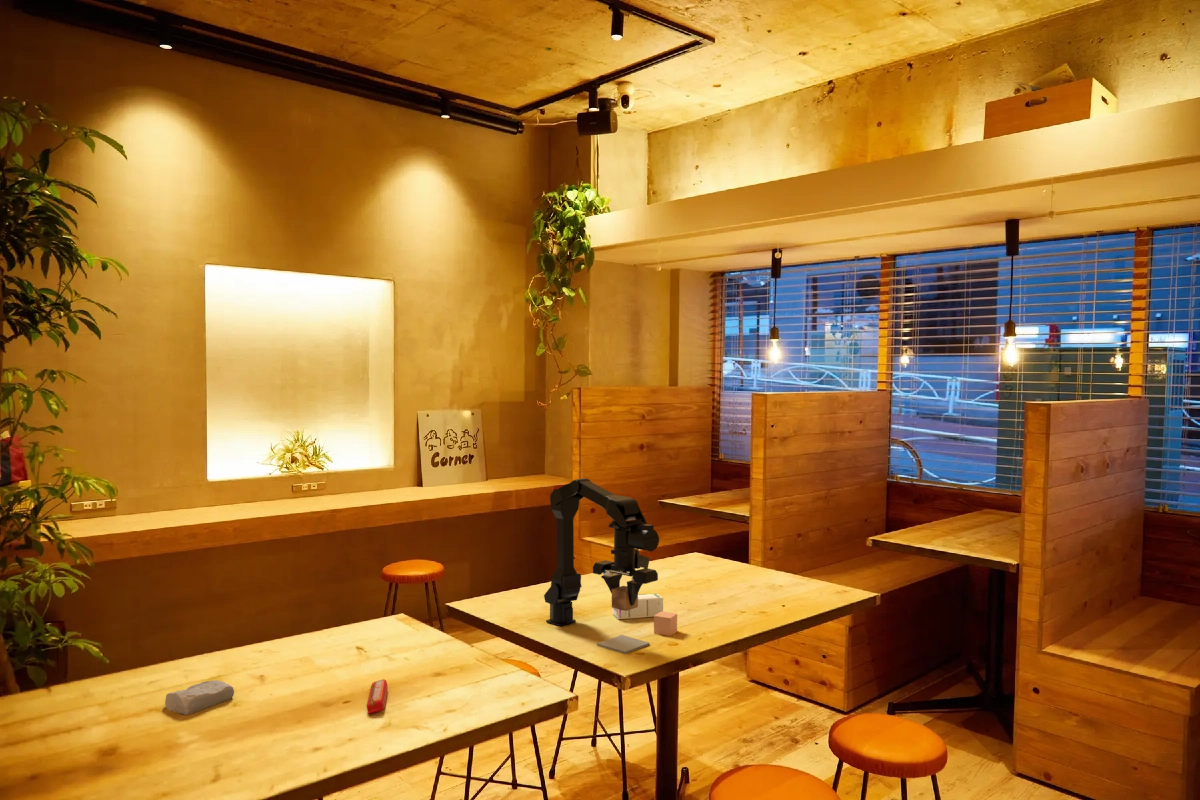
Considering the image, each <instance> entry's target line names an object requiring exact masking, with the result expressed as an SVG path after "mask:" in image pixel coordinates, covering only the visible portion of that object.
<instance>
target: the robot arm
mask: <svg viewBox="0 0 1200 800" xmlns="http://www.w3.org/2000/svg"><path fill="white" fill-rule="evenodd" d="M584 498H585V499H587V500H589V502H592V503H594V504H596V505H598V506H599V507H600V508H603V509H604V511H605V513H606V515H607V516H608V517H609V518H611V519H612V521H611V522H610V523H608V528H612V529H613V549H610V555H613V561H611V560H601V561H597V562H594V564H593V566H592V574H595V575H599V576H600V575H601V576H600V577H601V579H603V581H604V582H605V583H606V585H607V587H608V590H609V592H610V593H611V595H612V589H614V588H617V587H621V586H620V585H621V584H620V583H621V579H622V577H623V576H627V577H631V580H628V581H626V586H627V588H628V595H629V601H630V605H631V606H633V605H634V604H635V601H636V598H637V595H639V592H640V589H641V588H642V586H643V585H645V584H650V583H653V582H657V581H658V580H659V576H658V575H659V574H658V573H659V572H658V571H657V570H656V569H653V568H649V565H650V564H649V563H650V559H651V557H648V556H646V555H642V554H640V551H639V550H641V551H645V552H654V551H655V550H656V549H657V548H658V546H659V544H660V536H659V534H658V532H657V530H655V529H654V525H653V524H647V521H646V519H645V516H644V514H643V512H642V510H641V508H640V506H639V504H638V503H639V502H638V501H637V500H636V499H635V498H632V497H629V496H624V495H617V494H614V493H612V492H611V491H609V490H607V489H605V488H604V487H601V486H600V485H598V484H596V483H594V482H593V481H591V480H590V479H589V478H585V477H583V478H576V479H574V480H572V481H571V482H569V483H567V484H565V485H563V486H561V487H559V488H554V489H553V490H552V492H550V496H549V503H550V510H551V512H552V513H553V516H554V517H555V518H556V520H555V521H556V568H555V570H554V572H553V574H552V576H551V582H550V587H549V588H548V589H547V590H546V591H545V592H544V594H543V598H544V602H545V603H547V604H549V618H548V619H546V620H545V622H546V623H547V624H552V625H556V626H559V627H564V626H566V625H570V624H574V623H576V622H577V620H576V619H574V608H573V602H575V601H578V597H579V594H580V591H581V588H582V575H581V573H578V572H577V570H576V569H575V565H574V564H575V558H574V557H575V545H574V543H575V539H574V536H575V533H574V529H575V528H574V527H575V525H574V522H575V521H574V519H575V516H576V514H577V513H578V510H579V509H580V508H579V507H580V501H581V500H582V499H584Z"/></svg>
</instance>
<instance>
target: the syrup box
mask: <svg viewBox="0 0 1200 800" xmlns="http://www.w3.org/2000/svg"><path fill="white" fill-rule="evenodd" d="M611 609H612V615H613V616H614V617H615V618H616V619H618V620H625V619H626V620H627V619H639V618H640V619H641V618H654V615H656V614H658V613H659V612H661V611H662V612H664V597H662V596H661V595H660V594H658V593H657V592H655V593H640V594H639V593H638V607H637V608H634V609H631V610H627V611H624V610H620V609H616V608H612V607H611Z"/></svg>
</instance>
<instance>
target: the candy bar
mask: <svg viewBox="0 0 1200 800" xmlns="http://www.w3.org/2000/svg"><path fill="white" fill-rule="evenodd" d="M388 687H389V686H388V682H387V680H386V679H384V678H383V679H379V680H376V681H374V682H372V683H371V686H370V688H369V693H368V696H367V703H366V711H367V714H368V715H374V714H377V713H380V712H383V711H384V709H385V705H386V701H387V695H388Z"/></svg>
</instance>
